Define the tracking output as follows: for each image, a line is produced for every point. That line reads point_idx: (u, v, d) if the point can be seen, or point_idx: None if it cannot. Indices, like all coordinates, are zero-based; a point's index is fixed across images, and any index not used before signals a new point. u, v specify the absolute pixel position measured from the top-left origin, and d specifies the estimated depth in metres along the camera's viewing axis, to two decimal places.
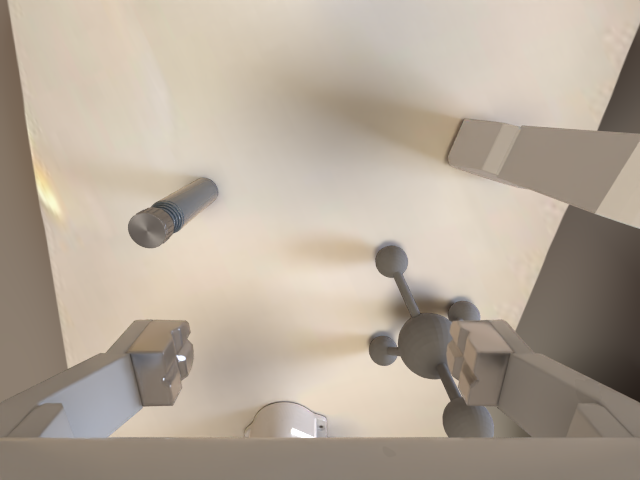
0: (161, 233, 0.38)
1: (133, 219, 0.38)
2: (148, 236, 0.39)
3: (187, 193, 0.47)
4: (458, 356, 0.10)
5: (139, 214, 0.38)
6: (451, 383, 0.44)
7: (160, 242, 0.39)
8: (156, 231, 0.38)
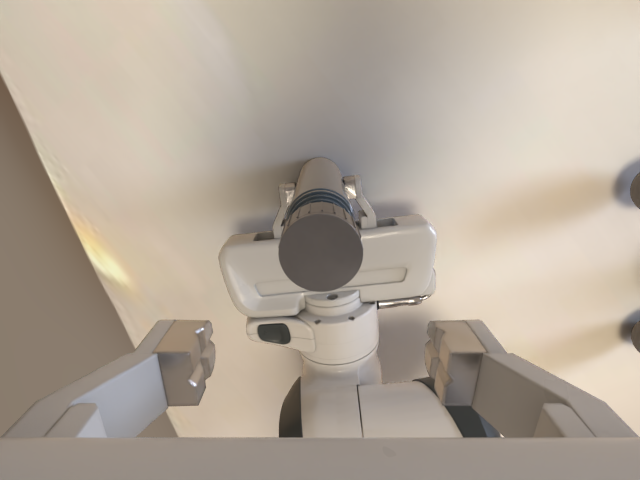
0: (353, 250, 0.17)
1: (287, 239, 0.17)
2: (326, 265, 0.17)
3: (324, 174, 0.26)
4: (435, 356, 0.10)
5: (297, 222, 0.16)
6: None
7: (354, 270, 0.17)
8: (341, 249, 0.17)
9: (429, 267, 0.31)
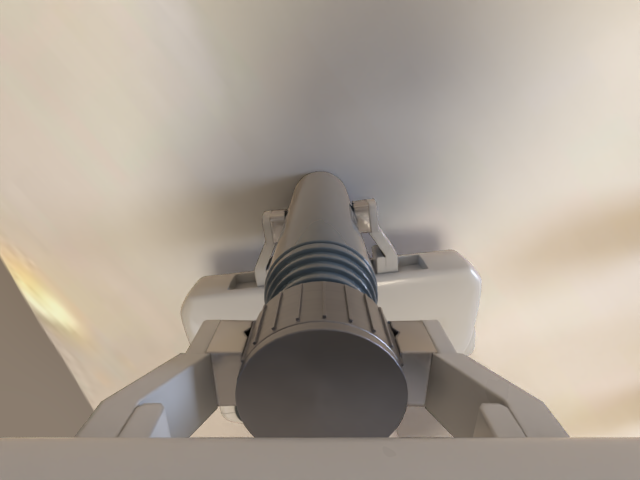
0: (387, 393, 0.08)
1: (252, 375, 0.08)
2: (332, 420, 0.08)
3: (326, 204, 0.17)
4: None
5: (273, 345, 0.08)
6: None
7: (388, 428, 0.09)
8: (363, 392, 0.08)
9: (470, 325, 0.23)
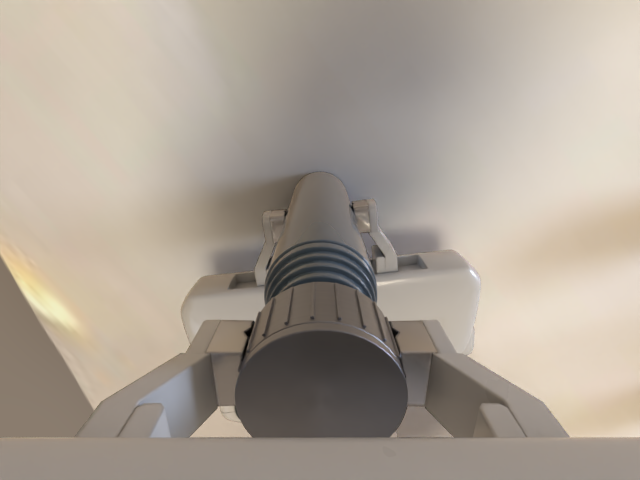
0: (306, 349, 0.08)
1: None
2: (346, 393, 0.08)
3: (326, 204, 0.17)
4: None
5: None
6: None
7: (356, 344, 0.08)
8: (306, 369, 0.08)
9: (469, 324, 0.23)
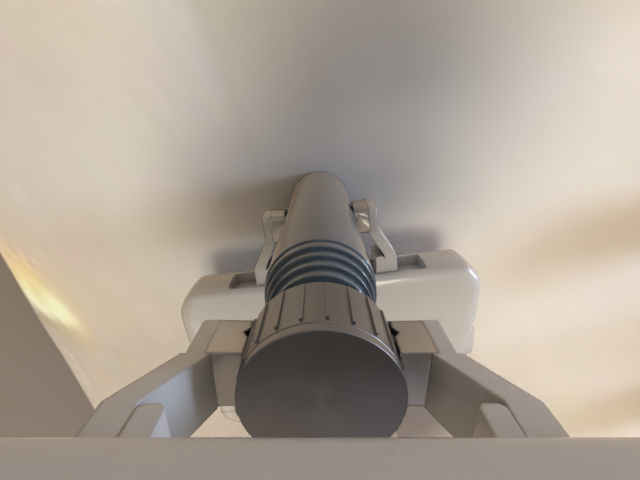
0: (258, 416, 0.08)
1: (389, 423, 0.08)
2: (307, 384, 0.08)
3: (325, 204, 0.17)
4: None
5: None
6: None
7: (246, 381, 0.08)
8: (281, 415, 0.08)
9: (468, 324, 0.23)
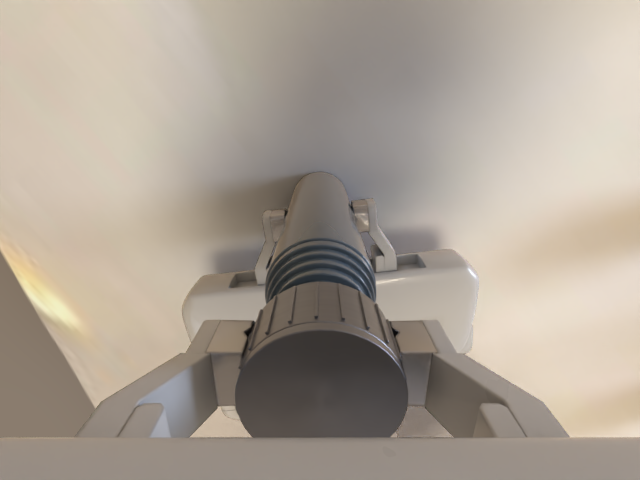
0: None
1: (346, 343, 0.08)
2: (299, 414, 0.08)
3: (325, 203, 0.18)
4: None
5: (385, 356, 0.08)
6: None
7: None
8: (339, 431, 0.09)
9: (467, 323, 0.23)
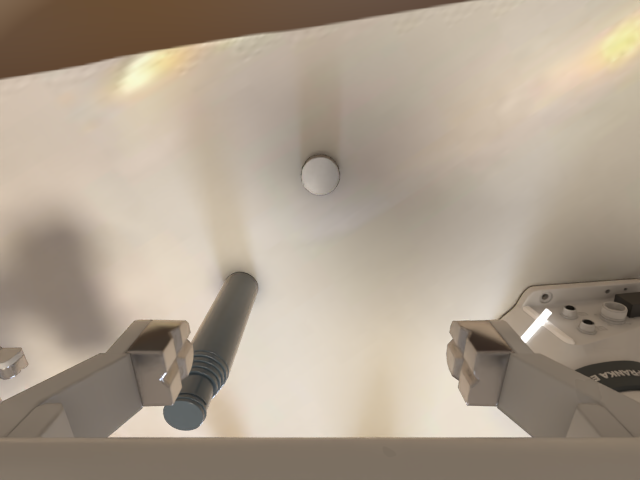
0: (314, 162, 0.37)
1: (317, 192, 0.38)
2: (325, 172, 0.37)
3: None
4: (458, 356, 0.10)
5: (308, 190, 0.38)
6: None
7: (324, 159, 0.37)
8: (315, 168, 0.37)
9: None
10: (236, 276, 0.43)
